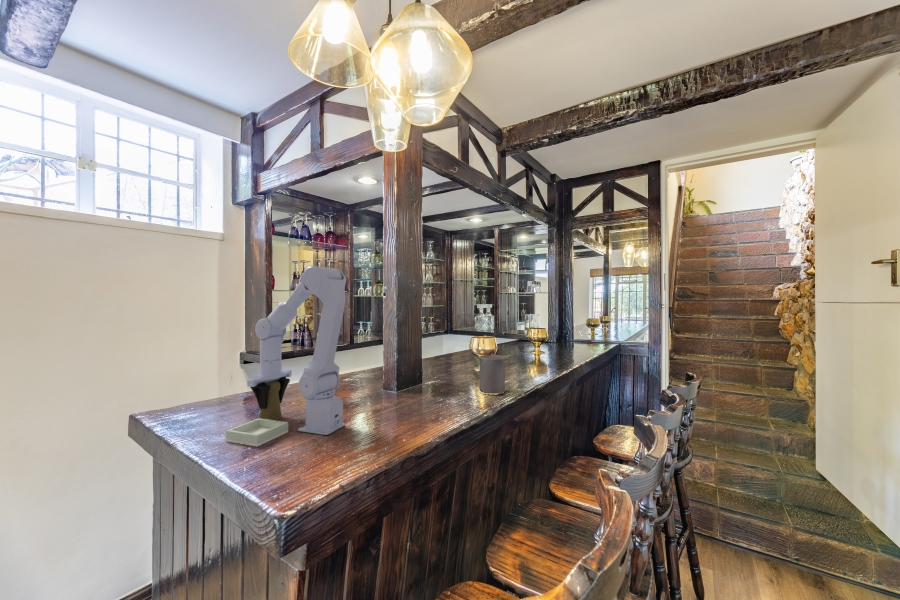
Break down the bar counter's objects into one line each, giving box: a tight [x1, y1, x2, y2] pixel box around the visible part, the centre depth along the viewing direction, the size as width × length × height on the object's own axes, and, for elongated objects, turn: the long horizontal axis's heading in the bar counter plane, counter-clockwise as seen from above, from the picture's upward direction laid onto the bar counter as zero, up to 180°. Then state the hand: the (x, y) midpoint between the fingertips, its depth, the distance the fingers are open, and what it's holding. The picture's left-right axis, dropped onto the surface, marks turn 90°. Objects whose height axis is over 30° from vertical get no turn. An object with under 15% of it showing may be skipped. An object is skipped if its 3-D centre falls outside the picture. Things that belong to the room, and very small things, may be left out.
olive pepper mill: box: [258, 381, 283, 421], centre depth 105 cm, size 6×6×11 cm
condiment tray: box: [225, 417, 289, 448], centre depth 91 cm, size 10×10×3 cm
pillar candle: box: [478, 352, 506, 393], centre depth 136 cm, size 10×10×15 cm
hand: (270, 405), depth 105 cm, fingers closed on olive pepper mill, 5 cm apart
